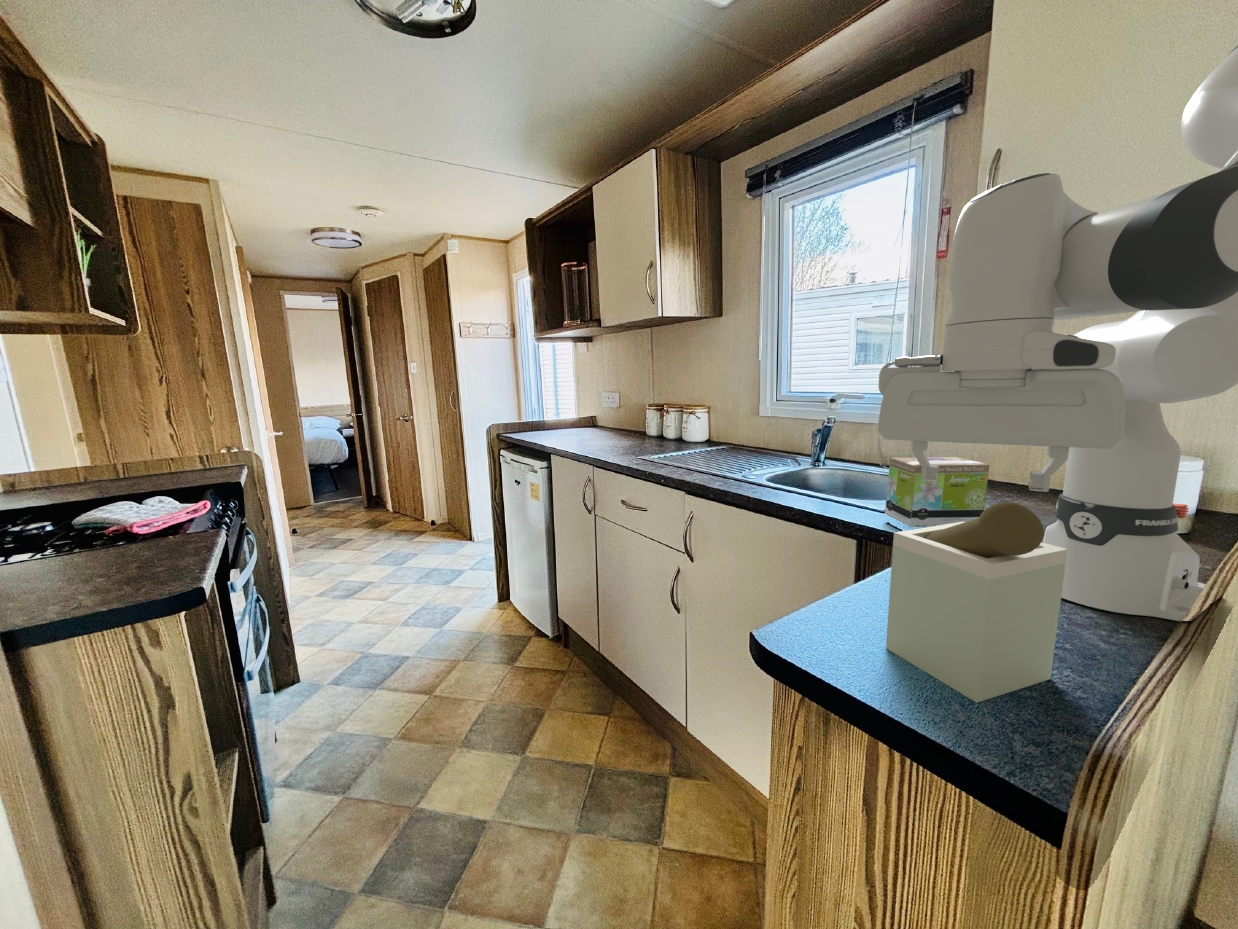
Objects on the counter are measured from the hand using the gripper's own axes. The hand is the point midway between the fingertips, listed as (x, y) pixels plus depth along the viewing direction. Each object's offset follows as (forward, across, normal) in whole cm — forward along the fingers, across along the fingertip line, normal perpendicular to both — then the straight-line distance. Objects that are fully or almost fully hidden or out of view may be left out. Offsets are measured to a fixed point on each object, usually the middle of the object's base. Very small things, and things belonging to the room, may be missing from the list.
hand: (981, 485), depth 53 cm
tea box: (+21, -7, +56) cm, 61 cm away
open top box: (+21, 0, 0) cm, 21 cm away
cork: (+9, -3, +1) cm, 9 cm away
